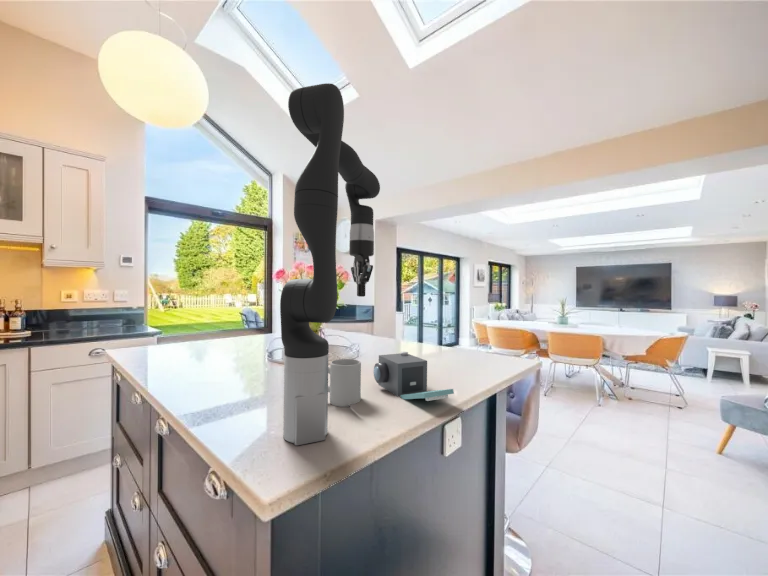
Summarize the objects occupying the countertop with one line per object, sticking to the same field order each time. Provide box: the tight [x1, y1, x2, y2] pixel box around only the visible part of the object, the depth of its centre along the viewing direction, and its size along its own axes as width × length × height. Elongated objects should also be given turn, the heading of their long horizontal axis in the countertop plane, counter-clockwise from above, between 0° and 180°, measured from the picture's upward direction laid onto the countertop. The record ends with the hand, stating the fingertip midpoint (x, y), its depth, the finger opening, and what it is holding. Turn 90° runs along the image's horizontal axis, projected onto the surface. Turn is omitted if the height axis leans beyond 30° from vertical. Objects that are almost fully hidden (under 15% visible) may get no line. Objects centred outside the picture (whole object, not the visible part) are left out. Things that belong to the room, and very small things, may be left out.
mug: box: [328, 358, 362, 408], centre depth 92 cm, size 12×8×11 cm
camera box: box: [373, 351, 428, 397], centre depth 102 cm, size 13×13×11 cm
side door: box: [399, 388, 455, 402], centre depth 90 cm, size 2×9×13 cm
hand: (361, 296), depth 102 cm, fingers closed
